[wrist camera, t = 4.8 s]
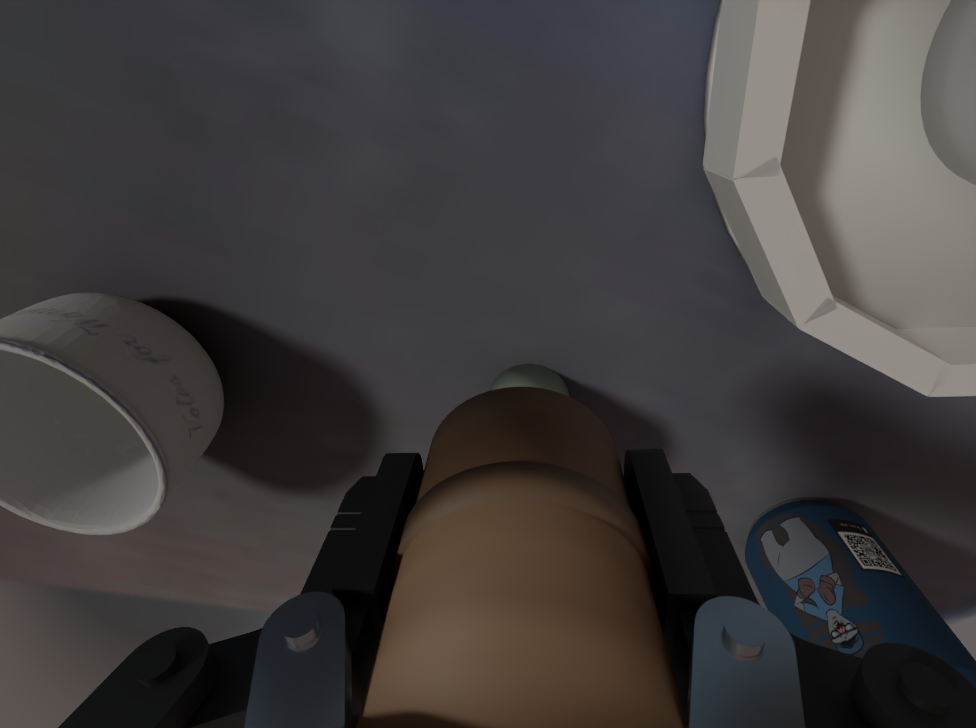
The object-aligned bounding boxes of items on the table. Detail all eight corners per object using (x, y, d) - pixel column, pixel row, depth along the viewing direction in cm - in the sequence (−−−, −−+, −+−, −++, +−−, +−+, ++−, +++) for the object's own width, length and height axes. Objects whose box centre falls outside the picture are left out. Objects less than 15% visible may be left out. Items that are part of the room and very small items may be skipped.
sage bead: (484, 363, 27) (473, 429, 22) (571, 360, 26) (582, 427, 21) (490, 433, 29) (481, 509, 24) (571, 432, 29) (580, 509, 23)
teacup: (286, 371, 28) (205, 463, 21) (191, 471, 32) (96, 576, 25) (47, 181, 24) (-152, 217, 17) (-27, 323, 28) (-213, 400, 21)
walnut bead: (411, 386, 11) (308, 658, 6) (627, 379, 11) (729, 666, 5) (437, 537, 13) (379, 835, 8) (617, 536, 13) (682, 851, 7)
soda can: (823, 579, 33) (964, 812, 22) (719, 560, 32) (811, 784, 22) (882, 501, 29) (1081, 730, 19) (767, 478, 29) (902, 697, 19)
